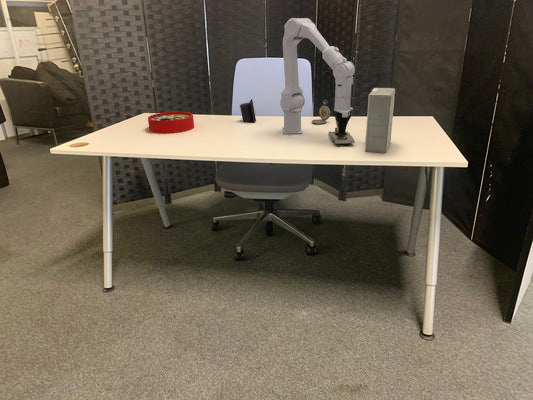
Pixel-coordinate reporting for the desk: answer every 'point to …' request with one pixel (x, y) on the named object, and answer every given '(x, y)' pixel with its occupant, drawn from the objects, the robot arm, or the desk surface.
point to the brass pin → (338, 131)
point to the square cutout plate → (341, 138)
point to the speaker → (248, 112)
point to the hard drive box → (379, 119)
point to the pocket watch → (322, 114)
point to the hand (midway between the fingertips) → (340, 132)
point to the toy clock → (171, 122)
